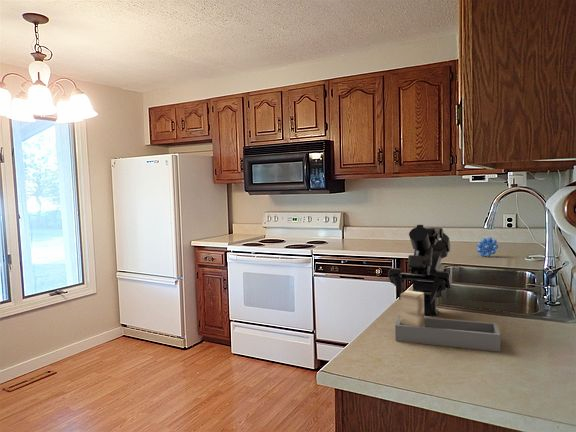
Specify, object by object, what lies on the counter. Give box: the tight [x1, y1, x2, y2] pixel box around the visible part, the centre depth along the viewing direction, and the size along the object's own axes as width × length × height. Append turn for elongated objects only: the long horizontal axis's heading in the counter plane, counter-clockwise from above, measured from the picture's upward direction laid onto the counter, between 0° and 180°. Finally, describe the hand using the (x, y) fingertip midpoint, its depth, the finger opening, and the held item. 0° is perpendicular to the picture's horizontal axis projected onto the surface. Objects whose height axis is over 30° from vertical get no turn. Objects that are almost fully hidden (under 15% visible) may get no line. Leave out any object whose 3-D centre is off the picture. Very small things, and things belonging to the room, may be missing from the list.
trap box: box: [394, 314, 501, 353], centre depth 119 cm, size 10×27×4 cm, turn 68°
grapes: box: [476, 236, 499, 257], centre depth 247 cm, size 12×7×12 cm, turn 57°
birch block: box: [399, 289, 425, 327], centre depth 121 cm, size 5×5×11 cm
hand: (415, 301), depth 127 cm, fingers open, 9 cm apart
